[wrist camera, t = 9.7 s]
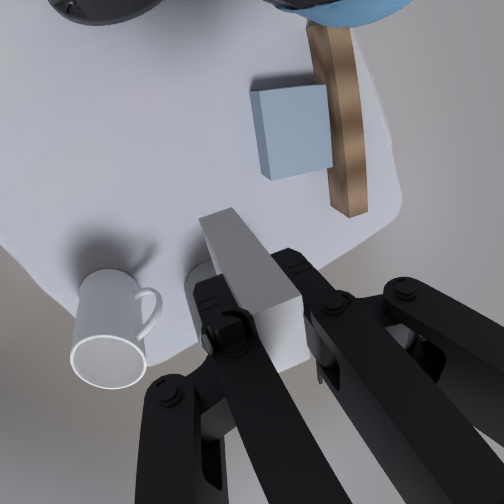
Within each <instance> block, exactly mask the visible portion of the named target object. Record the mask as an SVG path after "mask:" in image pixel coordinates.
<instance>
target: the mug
mask: <svg viewBox="0 0 504 504" xmlns="http://www.w3.org/2000/svg"><path fill="white" fill-rule="evenodd" d="M148 294H153V295H155V296H156V298H157V301H156V306H155V309H154V311H153V313H152V314H151V316H150V317H149V319H148V320H147V321H146V322H145V323H144V324H142V312H141V305H142V296H144V295H148ZM161 310H162V297H161V295H160V293H159V292H158V291H157V290H155V289H154V288H149V287H146V288H141V289H140V287H139V285H138V284H137V282H136V281H135V280H134V279H133V278H132V277H131V276H129V275H128V274H126V273H124V272H122V271H119V270H114V269H102V270H98V271H95V272H93V273H91V274H90V275H89V276H87V277H86V278H85V279H84V281H83V282H82V284H81V286H80V289H79V304H78V309H77V315H76V320H75V327H74V333H73V340H72V346H71V354H70V362H71V365H72V368H73V370H74V371H75V373H76V374H77V375H78V376H79V377H80V378H81V379H82V380H84V381H85V382H87V383H89V384H91V385H93V386H97V387H100V388H106V389H119V388H124V387H128V386H130V385H132V384H134V383H136V382H137V381H138V380H140V379H141V378H142V376H143V375H144V373H145V371H146V366H147V362H146V353H145V344H144V336H145V335H146V334H147V333H148V332H149V331H150V329H151V328H152V327H153V326H154V324H155V323H156V321H157V319H158V317H159V315H160V313H161Z"/></svg>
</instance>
